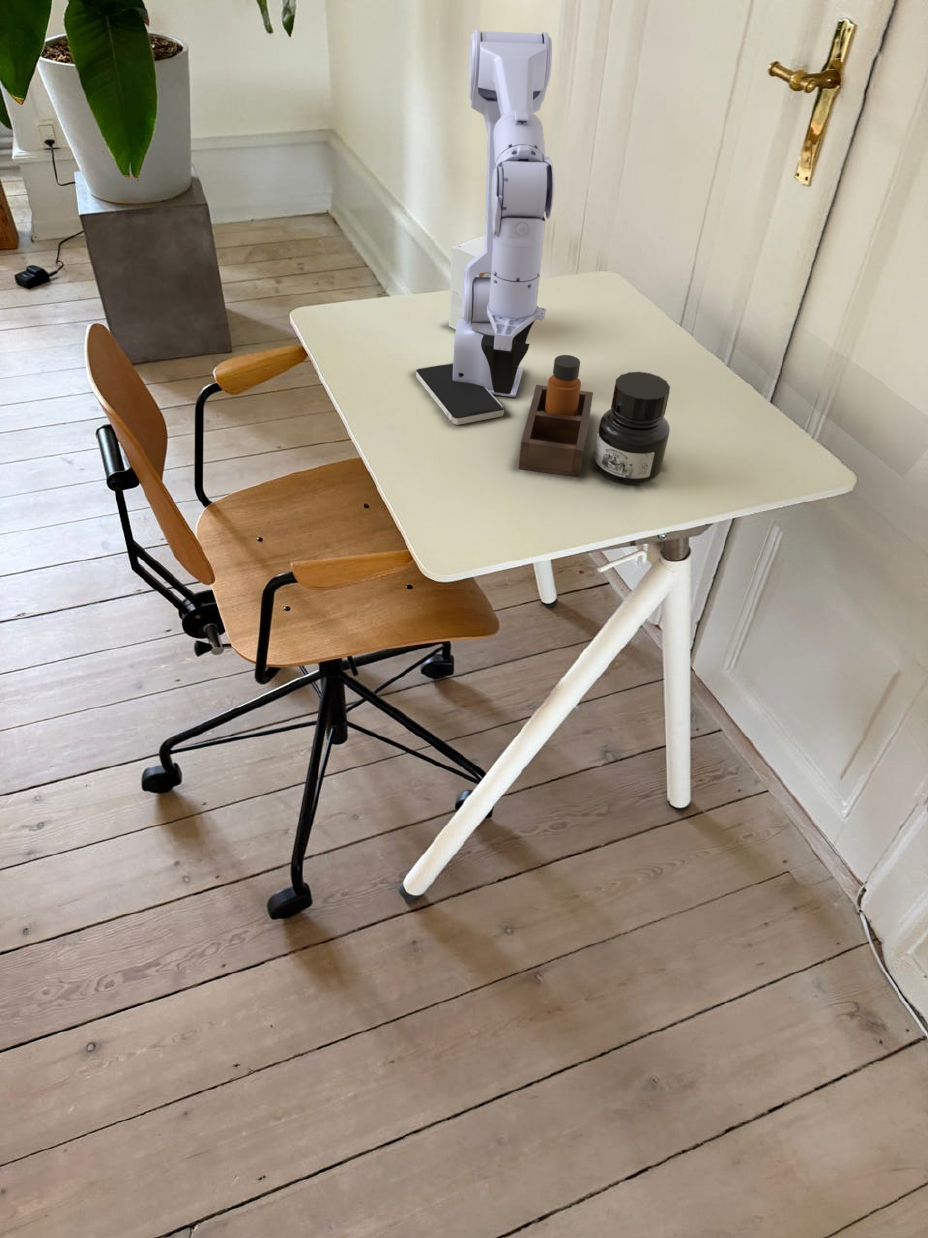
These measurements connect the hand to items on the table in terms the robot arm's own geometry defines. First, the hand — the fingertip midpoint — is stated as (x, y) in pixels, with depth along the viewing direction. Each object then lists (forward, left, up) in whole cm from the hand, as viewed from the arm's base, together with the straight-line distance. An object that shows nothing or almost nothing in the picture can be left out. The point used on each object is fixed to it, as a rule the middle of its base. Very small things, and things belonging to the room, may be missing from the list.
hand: (506, 376), depth 118 cm
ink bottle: (+17, 0, -11) cm, 20 cm away
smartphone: (-8, +12, -11) cm, 18 cm away
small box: (-9, +34, -11) cm, 37 cm away
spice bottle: (+7, +7, -10) cm, 14 cm away
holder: (+7, +3, -10) cm, 13 cm away
